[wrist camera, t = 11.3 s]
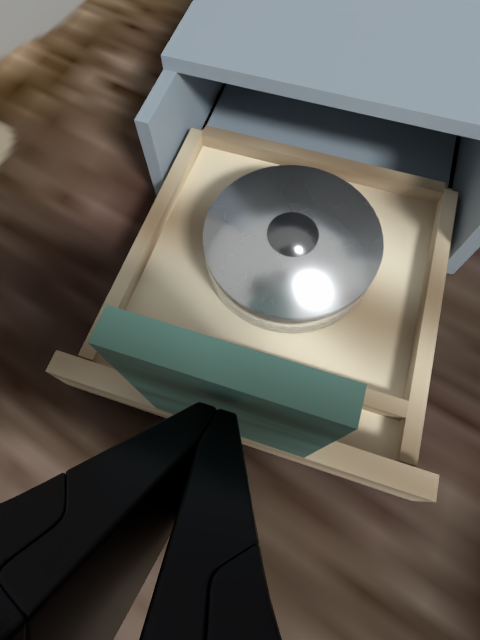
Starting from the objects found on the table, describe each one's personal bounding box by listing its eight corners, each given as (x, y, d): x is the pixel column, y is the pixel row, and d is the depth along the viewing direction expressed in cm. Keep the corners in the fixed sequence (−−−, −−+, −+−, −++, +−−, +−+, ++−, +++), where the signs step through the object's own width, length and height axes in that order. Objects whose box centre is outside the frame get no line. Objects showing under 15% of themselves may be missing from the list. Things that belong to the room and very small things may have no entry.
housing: (452, 274, 18) (524, 200, 14) (156, 195, 20) (130, 106, 15) (481, 72, 23) (541, -32, 19) (242, 23, 25) (242, -83, 20)
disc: (352, 355, 16) (364, 340, 14) (181, 305, 17) (175, 285, 15) (385, 212, 18) (398, 186, 17) (235, 175, 19) (235, 146, 18)
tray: (410, 500, 14) (618, 512, 6) (68, 385, 16) (-103, 281, 8) (456, 198, 19) (605, -5, 11) (192, 134, 21) (161, -82, 13)
